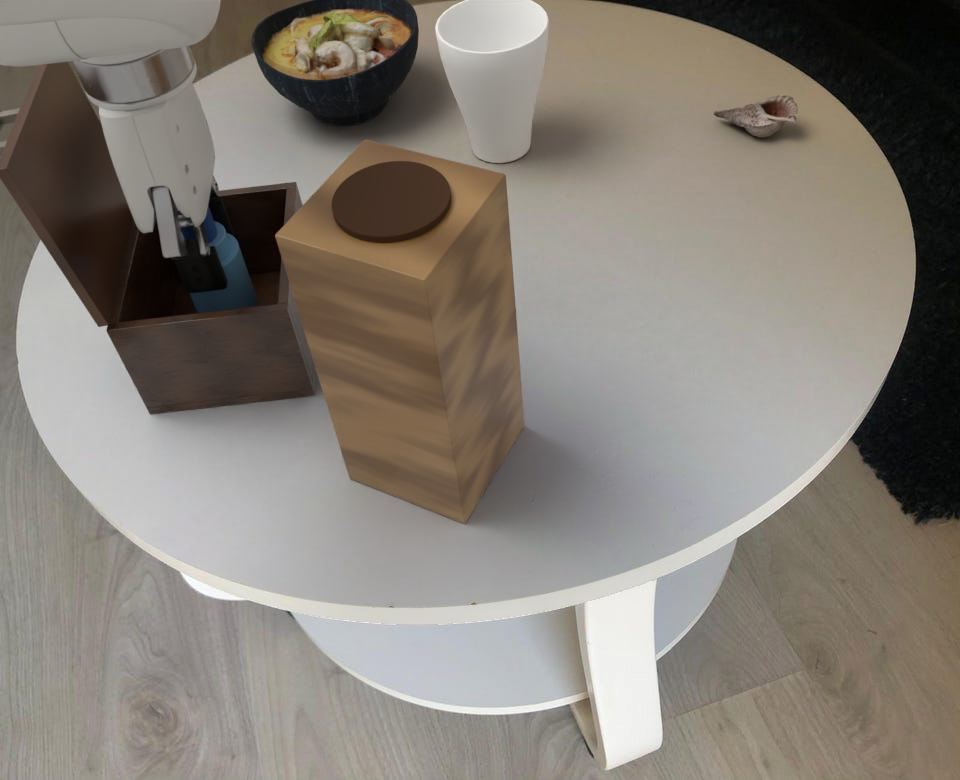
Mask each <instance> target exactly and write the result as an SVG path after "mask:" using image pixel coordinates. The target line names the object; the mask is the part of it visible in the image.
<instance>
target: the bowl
mask: <svg viewBox="0 0 960 780" xmlns="http://www.w3.org/2000/svg"><path fill="white" fill-rule="evenodd" d="M419 34H420V29H419V20H418V14H417V11H416V9H415V8H414V6H413V5H412V4H411V3H410V2H409V1H408V0H308V1H305V2H304V1H303V2H300V3H297V4H295V5H291V6H289V7H286V8H283V9H281V10H278V11H275V12H273V13H272V14H270V15H269V16H266V17H265V18H264V19H263V20H261V21H260V22H259V23H258V24H257V25H256V27H255V28H254V30H253V32H252V35H251V41H250V42H251V47H252V50H253V53H254V56H255V59H256V62H257V64H258V67H259V69H260V71H261V73H262V75H263V77H264V78H265V79H266V81H267V82H268V83H269V85H271V87H272V88H274V90H275V91H276V92H277V93H279V95H280V96H282V97H283V98H284V99H286V100H287V101H289V102H290V103H292V104H293V105H295V106H297V107H299V108H301V109H302V110H305V111H307V112H309V113H311V115H313V117H314V118H315V119H316V120H318V121H319V122H321V123H324V124H327V125H332V126H340V127H341V126H343V127H346V126H347V127H348V126H354V125H358V124H362V123H366V122H368V121H369V120H372V119H374V118H376V117H378V116H379V115H380V114H381V113H382V112H383V111H384V110H385V109H386V107H387V105H388V102H389V100H390V98H391V97H392V96H393V95H394V94H395V93H396V92H397V91H398V89H399V88H400V87H401V86H402V84H403V83H404V81H405V80H406V78H407V77H408V75H409V74H410V72H411V70H412V69H413V68H412V67H413V66H414V62H415V59H416V57H417V52H418V47H419V36H420V35H419Z"/></svg>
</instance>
